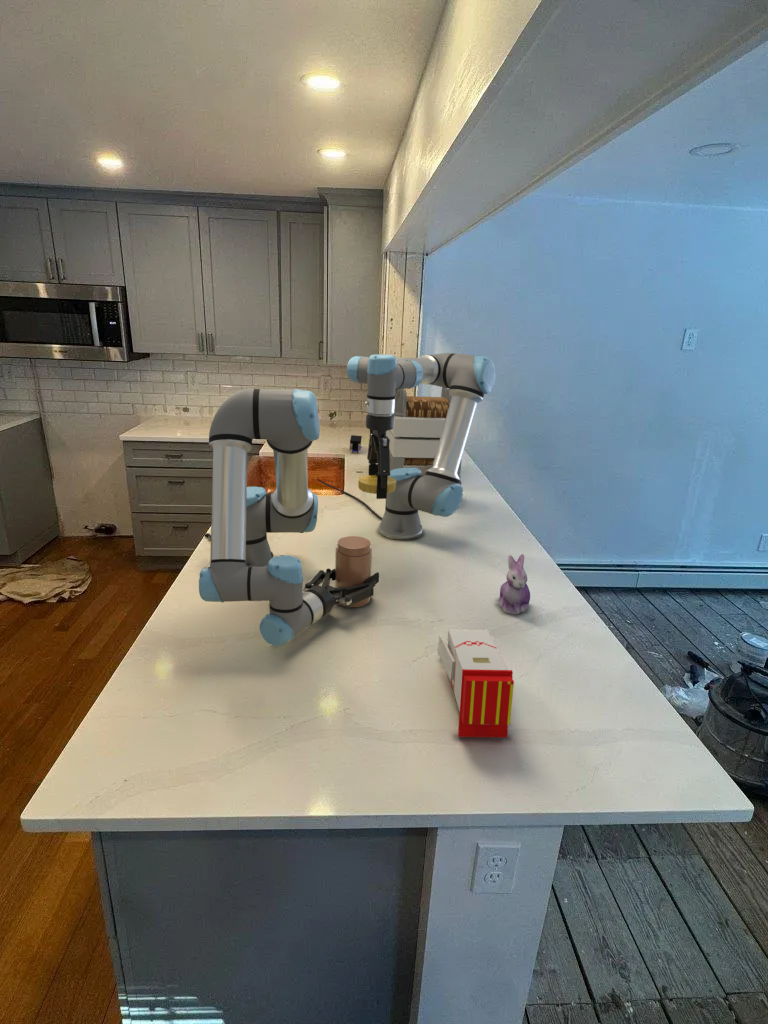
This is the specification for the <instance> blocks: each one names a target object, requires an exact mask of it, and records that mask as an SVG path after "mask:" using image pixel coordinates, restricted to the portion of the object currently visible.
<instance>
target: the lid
mask: <svg viewBox="0 0 768 1024" xmlns="http://www.w3.org/2000/svg"><path fill="white" fill-rule="evenodd" d="M357 488H358V490H360V491H361V492H364V493H368V494H372V495H373V494H375V495H377V476H376V475H369V474H367V475H363V476H360V477H358V487H357ZM395 490H396V479H394V478H392V477H389V476H388V479H387V493H391V492H393V491H395Z"/></svg>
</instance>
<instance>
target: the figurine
mask: <svg viewBox="0 0 768 1024" xmlns="http://www.w3.org/2000/svg"><path fill="white" fill-rule="evenodd" d="M507 561H508V562H507V563H508V571H507V573H506V576H505V578H506V581H505V582H504V583H503V584H501V586H500V588H499V589H500V590H499V598H498V605H499V607H500V608H501V609H502V611H503V612H504V613H507V614H511V615H518V614H519V613H525V612H526V611H527V609H528V607H529V604H530V601H531V591H530V588H529V585H528V584H527V582H528V575H527V571H526V570H525V568H524V567H525V566H524V563H525V554H524V553H521V554H520V555H519V557H518V558H517V560H515V559H514V557H513V556H512V555H511V554H509V555H508V556H507Z"/></svg>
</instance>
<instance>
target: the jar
mask: <svg viewBox="0 0 768 1024" xmlns="http://www.w3.org/2000/svg"><path fill="white" fill-rule="evenodd" d="M371 545H372V544H371V540H369V539H368V538H366V537H363V536H358V535H349V536H348V535H347V536H344V537H341V538H339V539H338V540H337V545H336V547H335V554H334V555H335V558H334V560H335V561H334V563H335V564H334V567H335V568H334V569H335V580H334V587H335V588H339V587H345V588H346V587H351V586H355V585H359V584H364V581H365V580H366V579H368V578H369V577H371V576H372V564H373V563H372V561H373V549H372V548H371ZM341 596H342V591H341ZM370 601H371V597H369V598H367V599H364V600H362V601H360V602H357V603H355V604H353V605H352V606H350V607H349V608H359V607H364V606H365V605H367V604H369V602H370ZM339 605H340V606H343V607H345V604H342V603H340V604H339Z"/></svg>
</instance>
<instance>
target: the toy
mask: <svg viewBox="0 0 768 1024" xmlns="http://www.w3.org/2000/svg"><path fill="white" fill-rule="evenodd" d="M446 640H447V643H446V641H445V639H444V636H443V635H442V634H439V637H438V646H437V656H438V657H439V659H440V661H441V663H442V666H443V668H444V670H445V672H446V674H447V677H448V679H449V681H450V684H451V687H452V690H453V693H454V697H455V701H456V705H457V708H458V711H459V714H458V715H459V716H458V730H457V731H458V732H457V737H458V738H508V731H509V726H510V725H511V717H512V707H513V697H514V696H513V695H514V684H515V680H514V679H513V673H514V671H513V670H512V669H508V667H507V665H506V662H505V661H504V659H503V658H502V655H501V653H500V651H499V649H498V647H497V643H496V639H495V637H494V635H493V634H491V632H490V631H489V629H467V628H466V629H465V628H463V629H461V628H460V629H459V628H448V630H447V639H446Z"/></svg>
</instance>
